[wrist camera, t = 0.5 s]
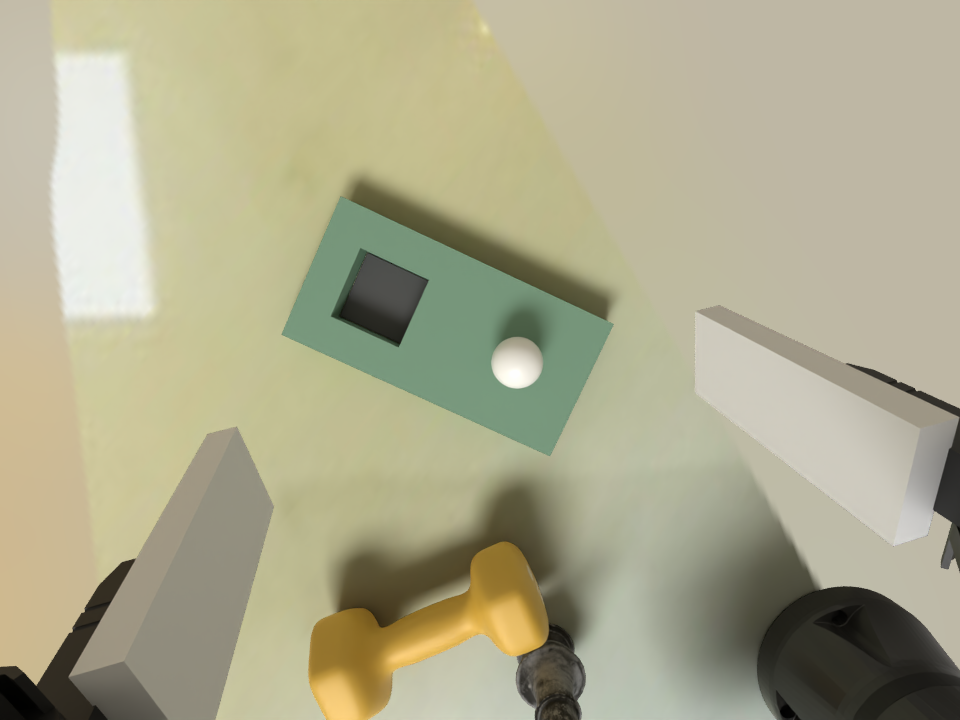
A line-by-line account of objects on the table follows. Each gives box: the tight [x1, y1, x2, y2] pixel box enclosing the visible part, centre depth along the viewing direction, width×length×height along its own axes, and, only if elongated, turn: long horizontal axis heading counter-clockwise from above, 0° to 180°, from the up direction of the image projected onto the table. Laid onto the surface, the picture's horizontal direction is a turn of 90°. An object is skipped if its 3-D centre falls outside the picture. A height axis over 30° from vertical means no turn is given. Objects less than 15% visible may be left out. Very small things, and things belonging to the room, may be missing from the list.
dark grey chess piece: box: [516, 624, 586, 720], centre depth 39 cm, size 6×6×12 cm
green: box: [282, 197, 614, 456], centre depth 42 cm, size 24×12×2 cm, turn 65°
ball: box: [491, 337, 543, 389], centre depth 39 cm, size 4×4×4 cm
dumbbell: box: [308, 542, 549, 720], centre depth 41 cm, size 19×9×8 cm, turn 113°
